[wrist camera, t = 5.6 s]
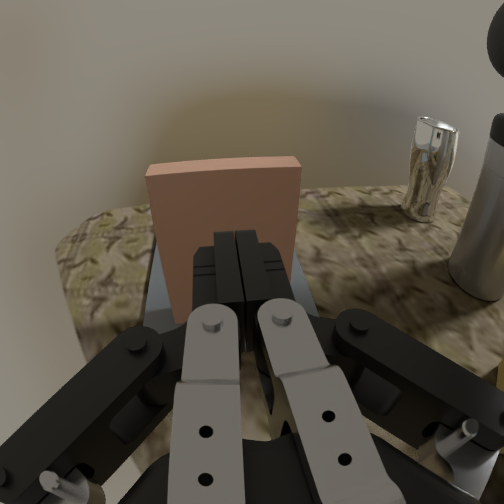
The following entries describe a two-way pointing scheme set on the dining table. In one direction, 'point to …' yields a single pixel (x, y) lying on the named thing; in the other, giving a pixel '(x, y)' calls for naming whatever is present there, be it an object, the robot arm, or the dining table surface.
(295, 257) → the mat
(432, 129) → the beer glass
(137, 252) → the dining table surface
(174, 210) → the tile
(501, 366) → the cheese
